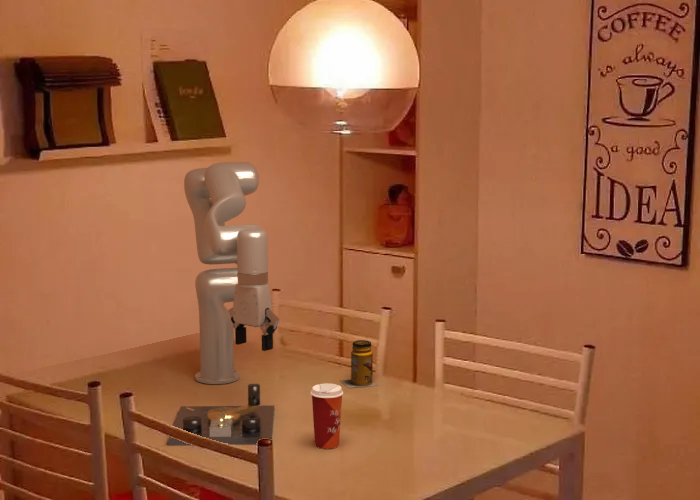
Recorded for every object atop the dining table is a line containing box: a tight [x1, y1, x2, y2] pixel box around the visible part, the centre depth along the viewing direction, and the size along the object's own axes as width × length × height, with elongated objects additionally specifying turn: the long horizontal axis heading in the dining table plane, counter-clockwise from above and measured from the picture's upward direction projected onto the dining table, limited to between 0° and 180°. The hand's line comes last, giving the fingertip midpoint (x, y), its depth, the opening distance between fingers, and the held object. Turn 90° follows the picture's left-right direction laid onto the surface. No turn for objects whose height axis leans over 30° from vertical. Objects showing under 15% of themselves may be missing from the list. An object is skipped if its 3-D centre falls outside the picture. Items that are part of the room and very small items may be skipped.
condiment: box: [340, 339, 378, 389], centre depth 292 cm, size 7×8×12 cm
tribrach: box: [168, 404, 275, 446], centre depth 256 cm, size 24×24×6 cm
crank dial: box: [207, 383, 261, 424], centre depth 258 cm, size 16×8×7 cm, turn 138°
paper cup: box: [310, 383, 344, 450], centre depth 243 cm, size 8×8×14 cm
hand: (254, 346), depth 260 cm, fingers open, 9 cm apart
